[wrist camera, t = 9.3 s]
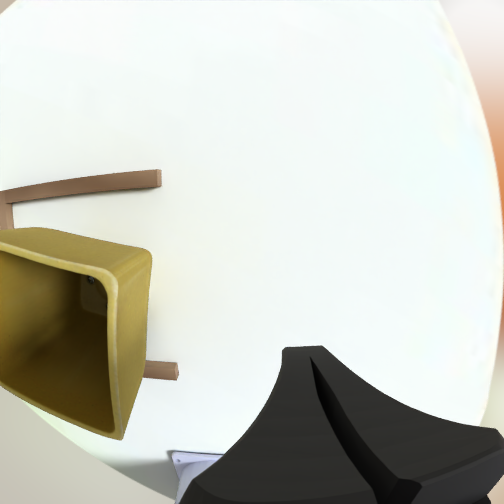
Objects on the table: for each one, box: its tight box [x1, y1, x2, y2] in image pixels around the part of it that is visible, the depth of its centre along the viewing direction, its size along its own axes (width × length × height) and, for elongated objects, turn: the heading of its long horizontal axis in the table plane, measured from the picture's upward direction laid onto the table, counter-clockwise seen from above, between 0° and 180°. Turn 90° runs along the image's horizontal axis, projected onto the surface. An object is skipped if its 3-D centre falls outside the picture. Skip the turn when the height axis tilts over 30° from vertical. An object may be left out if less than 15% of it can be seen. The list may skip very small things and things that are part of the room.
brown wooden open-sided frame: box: [0, 169, 179, 380], centre depth 19 cm, size 14×14×1 cm
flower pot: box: [0, 227, 152, 440], centre depth 15 cm, size 9×9×9 cm
